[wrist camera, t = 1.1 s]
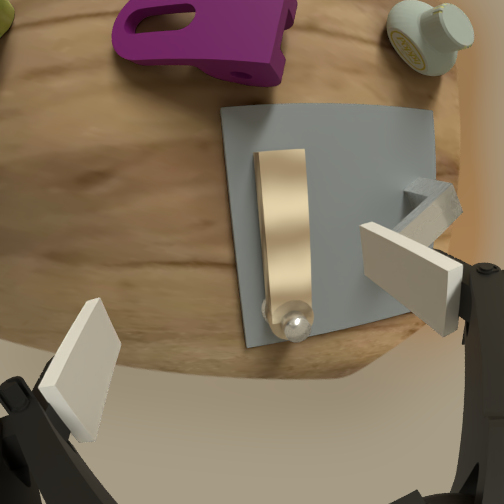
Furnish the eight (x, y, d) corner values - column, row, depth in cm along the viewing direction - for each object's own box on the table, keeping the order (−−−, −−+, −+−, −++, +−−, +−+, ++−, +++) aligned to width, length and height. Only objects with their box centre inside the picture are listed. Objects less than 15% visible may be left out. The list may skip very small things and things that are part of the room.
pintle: (263, 330, 39) (273, 357, 33) (259, 288, 37) (270, 312, 32) (307, 322, 40) (323, 347, 34) (306, 281, 38) (323, 302, 32)
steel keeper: (380, 246, 38) (410, 263, 32) (366, 221, 37) (396, 235, 31) (430, 202, 38) (463, 211, 32) (418, 177, 36) (452, 183, 30)
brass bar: (305, 322, 39) (313, 335, 36) (266, 330, 38) (271, 343, 35) (297, 148, 33) (307, 148, 30) (250, 152, 32) (255, 152, 29)
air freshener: (446, 60, 34) (495, 50, 24) (419, 88, 34) (470, 79, 25) (400, 0, 30) (443, -24, 21) (367, 23, 31) (412, -3, 22)
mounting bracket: (144, 80, 35) (287, 91, 31) (102, 62, 27) (269, 64, 23) (163, 16, 32) (302, 18, 28) (126, -10, 24) (289, -22, 20)
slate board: (245, 341, 41) (246, 348, 39) (219, 109, 32) (221, 107, 30) (420, 303, 44) (426, 307, 43) (425, 111, 35) (432, 110, 34)
